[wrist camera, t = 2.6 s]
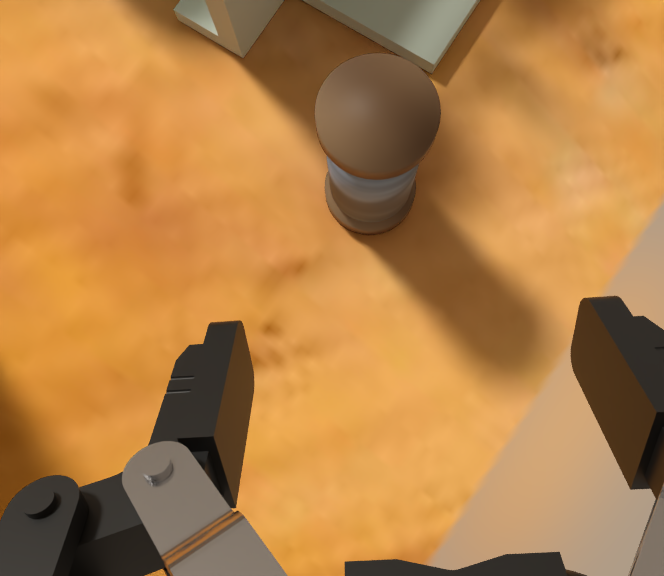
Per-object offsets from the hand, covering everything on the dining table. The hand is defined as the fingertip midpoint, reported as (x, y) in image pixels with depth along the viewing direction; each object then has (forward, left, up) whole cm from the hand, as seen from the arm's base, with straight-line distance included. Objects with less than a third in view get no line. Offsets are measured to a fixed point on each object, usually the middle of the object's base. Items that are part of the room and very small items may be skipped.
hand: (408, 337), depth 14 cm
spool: (+8, +5, -18) cm, 20 cm away
